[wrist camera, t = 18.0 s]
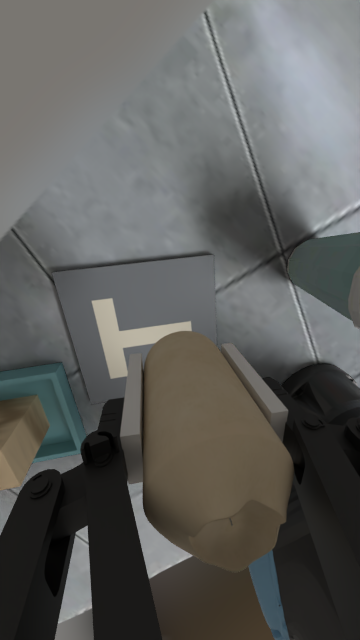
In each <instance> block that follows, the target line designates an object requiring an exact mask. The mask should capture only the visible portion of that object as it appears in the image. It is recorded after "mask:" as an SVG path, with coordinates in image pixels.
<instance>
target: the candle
mask: <svg viewBox="0 0 360 640" xmlns="http://www.w3.org/2000/svg"><path fill="white" fill-rule="evenodd" d="M293 477H294V465H293V461H292V458H291V456H290V454H289V452H288V450H287V449H286V447H285V446H284V444H283V443H282V442H281V440H280V439H279V437H278V436H277V434H276V433H275V431H274V430H273V428H272V427H271V425H270V424H269V422H268V421H267V419H266V418H265V416H264V415H263V413H262V412H261V411H260V409H259V408H258V406H257V405H256V403H255V402H254V400H253V399H252V397H251V396H250V394H249V393H248V391H247V390H246V388H245V387H244V385H243V384H242V383H241V381H240V380H239V378H238V377H237V375H236V374H235V372H234V371H233V369H232V368H231V366H230V365H229V363H228V362H227V360H226V359H225V357H224V356H223V355H222V353H221V352H220V350H219V349H218V348H217V346H216V345H215V344H214V343H213V342H212V341H211V340H210V339H209V338H207V337H206V336H204V335H202V334H200V333H197V332H193V331H179V332H174V333H171V334H169V335H166V336H164V337H163V338H161V339H160V340H159V341H157V342H156V343H155V344H154V345H153V346H152V348H151V349H150V351H149V353H148V355H147V357H146V360H145V364H144V390H143V509H144V512H145V515H146V517H147V519H148V521H149V522H150V523H151V524H152V526H153V527H154V528H155V529H156V530H157V531H158V532H159V533H160V534H162V535H163V536H164V537H165V538H166V539H168V540H169V541H170V542H171V543H173V544H175V545H176V546H178V547H179V548H181V549H183V550H185V551H186V552H188V553H190V554H192V555H194V556H195V557H197V558H198V559H200V560H202V561H203V562H205V563H207V564H212V565H216V566H219V567H221V568H223V569H225V570H228V571H230V572H239V571H242V570H244V569H245V568H246V567H248V566H249V565H250V564H251V563H252V562H254V561H255V560H257V559H259V558H260V557H262V556H264V555H265V554H267V553H268V552H270V551H271V550H272V549H273V548H274V547H275V545H276V542H277V537H278V532H279V528H280V524H283V523H285V522H286V516H287V506H288V501H289V498H290V494H291V489H292V484H293Z"/></svg>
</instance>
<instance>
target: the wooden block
mask: <svg viewBox="0 0 360 640" xmlns="http://www.w3.org/2000/svg"><path fill="white" fill-rule="evenodd" d="M49 427H50V424H49V422H48V419H47V417H46V414H45V412H44V409H43V407H42V404H41V402H40V400H39V397H38V395H32V396H26V397H20V398H14V399H8V400H2V401H0V490H4V489H9V488H14V487H19V486H21V484H22V482H23V480H24V478H25V476H26V474H27V472H28V470H29V468H30V466H31V464H32V462H33V460H34V458H35V456H36V453H37V451H38V449H39V447H40V445H41V443H42V441H43V439H44V437H45V435H46V433H47V431H48V429H49Z"/></svg>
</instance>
